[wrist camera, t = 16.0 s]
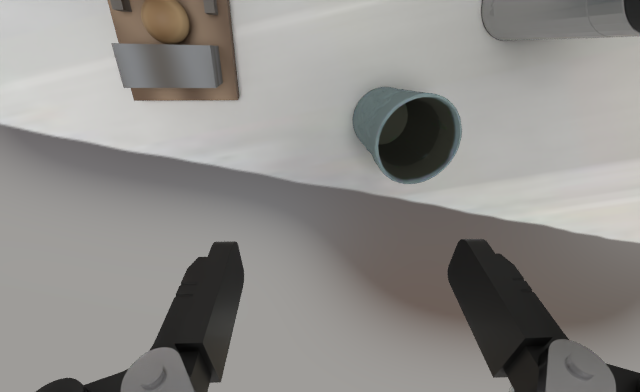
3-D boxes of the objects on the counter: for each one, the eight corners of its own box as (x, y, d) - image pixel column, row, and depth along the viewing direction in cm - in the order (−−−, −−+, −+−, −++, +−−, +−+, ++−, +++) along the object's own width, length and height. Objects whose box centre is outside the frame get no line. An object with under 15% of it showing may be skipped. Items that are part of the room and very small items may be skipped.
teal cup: (368, 69, 38) (404, 77, 28) (428, 98, 42) (481, 115, 31) (337, 138, 42) (358, 169, 32) (394, 160, 45) (431, 195, 35)
